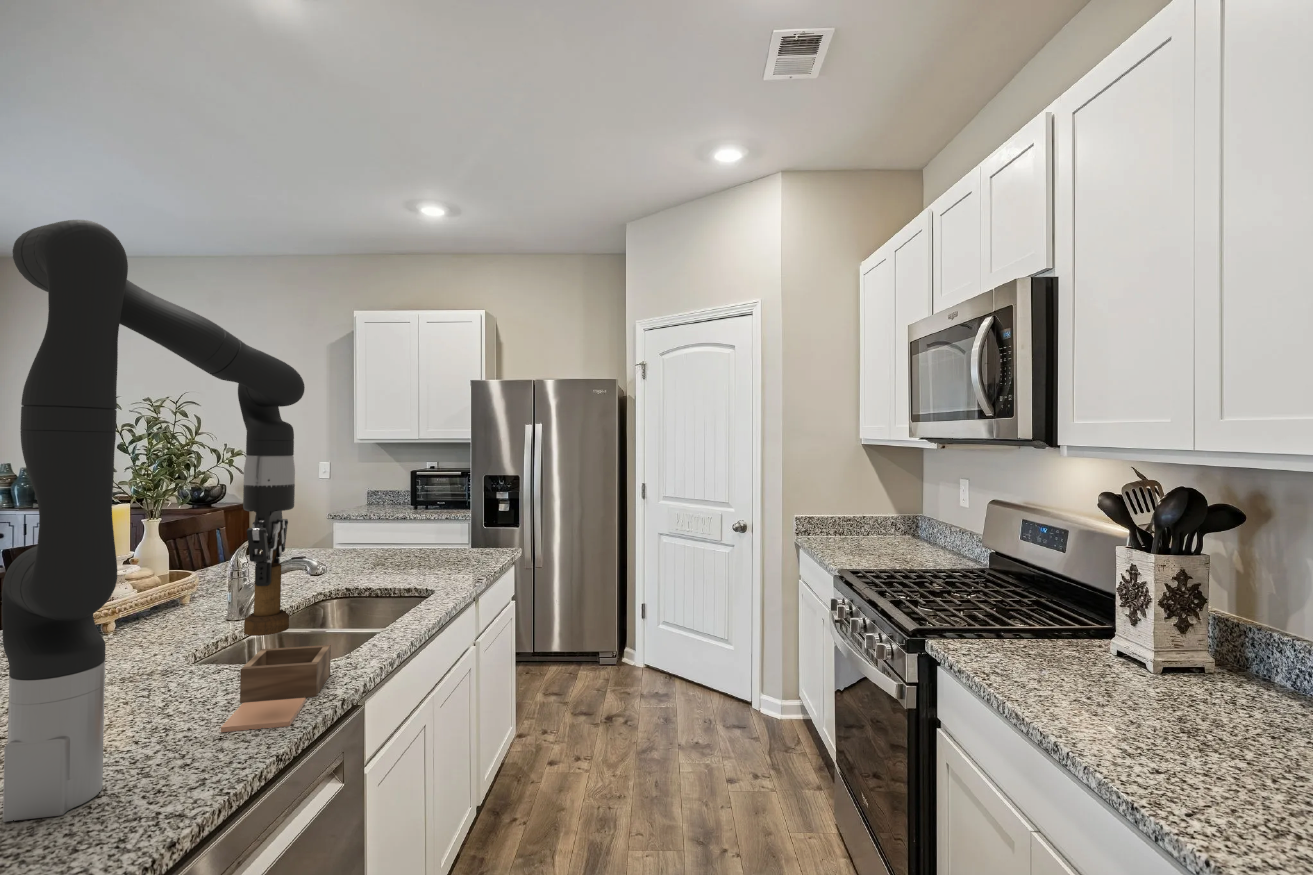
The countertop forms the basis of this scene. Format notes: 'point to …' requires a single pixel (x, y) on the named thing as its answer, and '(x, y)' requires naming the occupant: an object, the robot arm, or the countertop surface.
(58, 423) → the robot arm
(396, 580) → the countertop surface
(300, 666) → the open wooden box
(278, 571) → the mortar and pestle
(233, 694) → the countertop surface
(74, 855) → the countertop surface
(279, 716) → the terracotta tile
